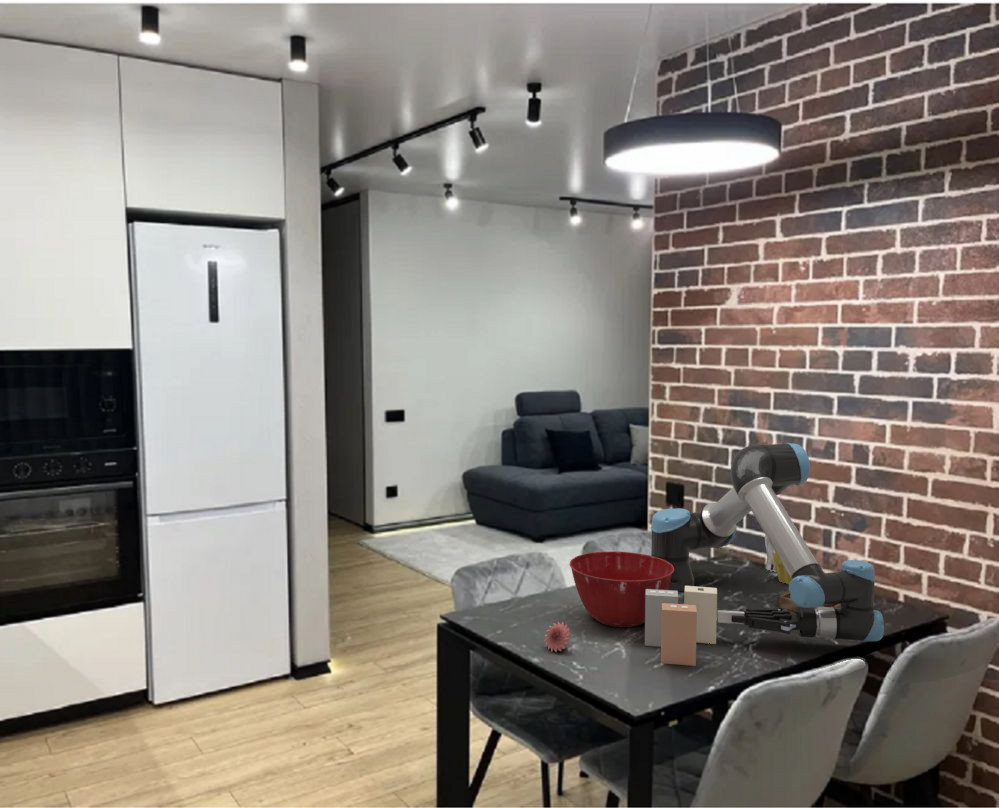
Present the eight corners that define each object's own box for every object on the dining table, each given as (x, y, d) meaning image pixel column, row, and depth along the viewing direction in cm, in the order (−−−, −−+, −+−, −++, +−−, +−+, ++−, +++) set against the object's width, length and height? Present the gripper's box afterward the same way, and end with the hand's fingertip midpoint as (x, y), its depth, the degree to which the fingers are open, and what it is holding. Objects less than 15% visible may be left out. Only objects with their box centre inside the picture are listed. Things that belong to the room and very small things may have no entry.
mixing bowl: (692, 618, 223) (693, 563, 222) (635, 646, 203) (636, 586, 201) (608, 596, 243) (609, 545, 241) (548, 619, 222) (548, 564, 221)
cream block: (683, 641, 206) (684, 590, 205) (684, 634, 211) (685, 584, 210) (715, 644, 204) (717, 593, 203) (715, 637, 209) (716, 587, 208)
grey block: (644, 645, 203) (645, 594, 202) (644, 638, 208) (645, 588, 207) (677, 647, 202) (678, 596, 201) (676, 640, 207) (677, 590, 206)
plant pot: (765, 578, 261) (766, 548, 261) (794, 576, 264) (795, 547, 263) (784, 587, 251) (785, 557, 251) (813, 585, 254) (814, 555, 253)
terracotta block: (661, 663, 192) (662, 608, 191) (661, 655, 197) (661, 602, 196) (695, 665, 190) (696, 611, 189) (694, 657, 195) (695, 604, 194)
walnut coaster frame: (777, 606, 233) (777, 596, 233) (805, 593, 246) (805, 583, 246) (832, 620, 222) (832, 609, 222) (858, 605, 234) (859, 595, 234)
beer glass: (783, 573, 267) (784, 528, 266) (761, 570, 271) (763, 526, 270) (788, 568, 273) (789, 525, 272) (767, 565, 277) (768, 522, 276)
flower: (567, 619, 205) (555, 612, 201) (584, 641, 199) (572, 633, 195) (545, 641, 205) (533, 634, 202) (561, 664, 199) (550, 657, 196)
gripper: (820, 646, 195) (719, 639, 200) (809, 627, 208) (715, 622, 212) (821, 616, 195) (720, 610, 199) (810, 599, 208) (715, 594, 212)
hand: (717, 616), depth 206 cm, fingers closed
